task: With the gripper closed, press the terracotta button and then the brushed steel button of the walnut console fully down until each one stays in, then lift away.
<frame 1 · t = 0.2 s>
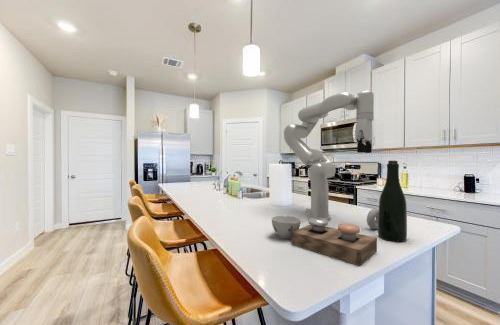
hand: (364, 152, 113), 37 cm above the counter, tool pointing down, fingers open, 9 cm apart
donut: (375, 229, 110), on the counter
button 2: (348, 233, 84), point 7 cm above the counter, slide at 0.0 cm
console: (332, 247, 88), on the counter
button 1: (318, 226, 92), point 7 cm above the counter, slide at 0.0 cm
teacup: (284, 236, 101), on the counter
dark green wine bottle: (392, 238, 98), on the counter
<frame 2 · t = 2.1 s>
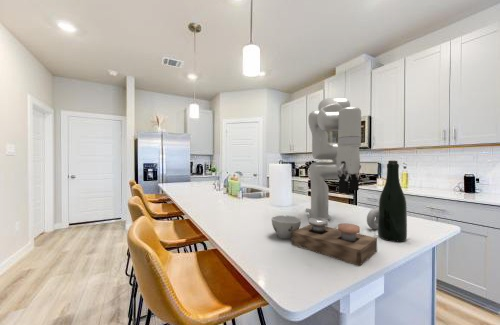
hand: (349, 191, 83), 22 cm above the counter, tool pointing down, fingers open, 8 cm apart
nothing on the counter moved.
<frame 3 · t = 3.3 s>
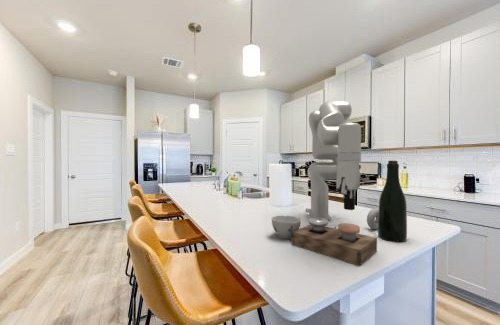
hand: (349, 209, 83), 16 cm above the counter, tool pointing down, fingers closed
nothing on the counter moved.
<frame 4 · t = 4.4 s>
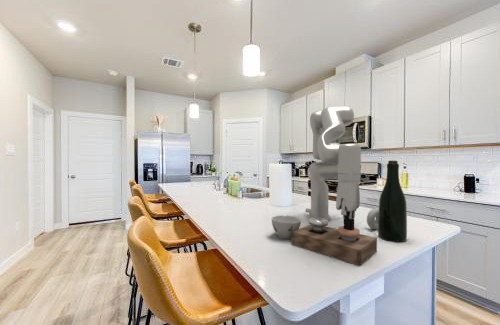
hand: (348, 229, 83), 8 cm above the counter, tool pointing down, fingers closed
button 2: (348, 236, 84), point 6 cm above the counter, slide at 1.1 cm, touching gripper
everything else where it was.
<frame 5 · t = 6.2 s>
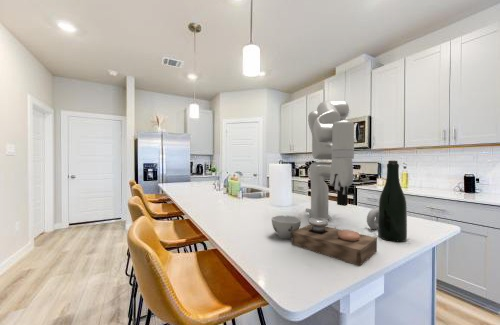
hand: (342, 204, 85), 17 cm above the counter, tool pointing down, fingers closed
button 2: (348, 240, 84), point 4 cm above the counter, slide at 2.5 cm
everything else where it was.
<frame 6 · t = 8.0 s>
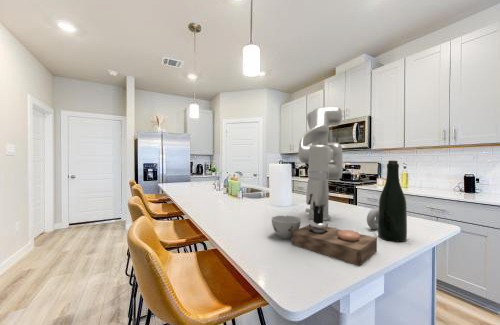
hand: (318, 222, 92), 9 cm above the counter, tool pointing down, fingers closed
button 1: (318, 229, 92), point 6 cm above the counter, slide at 1.0 cm, touching gripper
everything else where it was.
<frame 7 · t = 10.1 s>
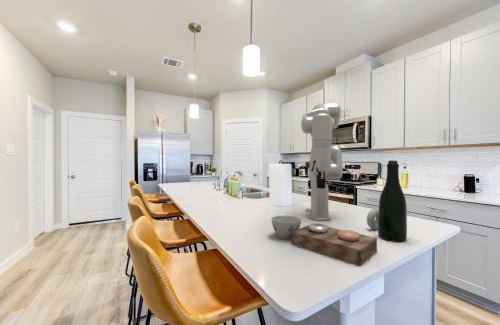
hand: (320, 187, 97), 21 cm above the counter, tool pointing down, fingers closed
button 1: (318, 232, 92), point 4 cm above the counter, slide at 2.5 cm
everything else where it was.
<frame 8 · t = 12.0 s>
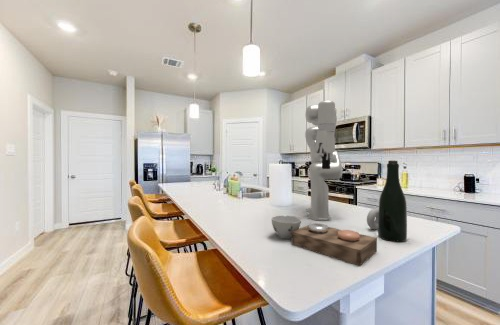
hand: (326, 168, 106), 29 cm above the counter, tool pointing down, fingers closed
nothing on the counter moved.
at the end: button 2 slide at 2.5 cm; button 1 slide at 2.5 cm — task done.
